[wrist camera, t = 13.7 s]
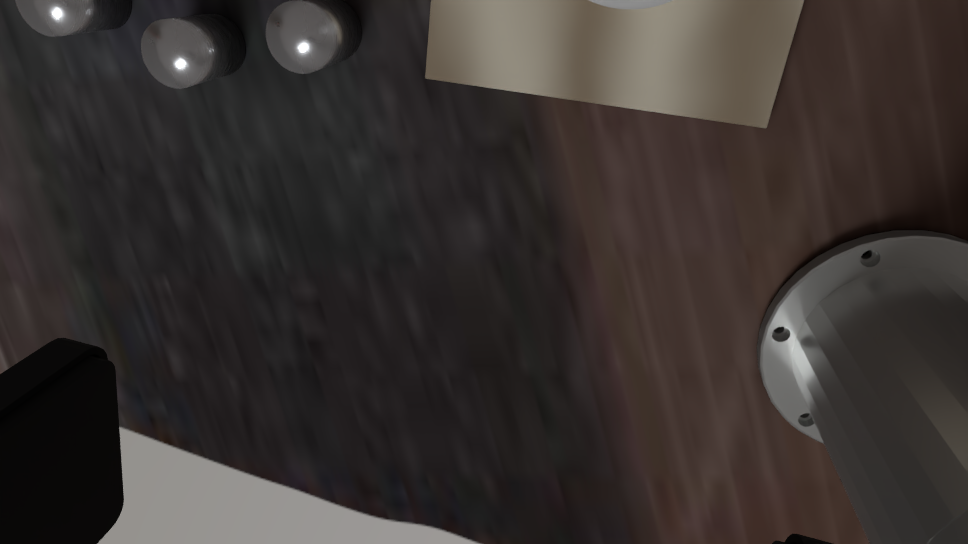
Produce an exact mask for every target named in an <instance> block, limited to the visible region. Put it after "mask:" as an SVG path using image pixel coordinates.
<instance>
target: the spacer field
mask: <svg viewBox="0 0 968 544" xmlns="http://www.w3.org/2000/svg"><path fill="white" fill-rule="evenodd" d="M15 1H16V5H17V7H18V10H19V12H20V14H21V15H22V17H23V18H24V20H25V21H26V22H27V23H28V24H29V25H30V26H31V27H32V28H33V29H34V30H36V31H37V32H39V33H41V34H43V35H46V36H50V37H58V36H65V35H73V34H80V33H88V32H95V31H103V30H110V29H116V28H119V27H121V26H122V25H124V24H125V23H126V22H127V20H128V18H129V16H130V13H131V6H132V5H131V0H15ZM266 40H267V44H268V47H269V49H270V52H271V53H272V55H273V57H274V58H275V59H276V61H277V62H278V63H279V64H280V65H282V66H283V67H284V68H286V69H288V70H290V71H292V72H295V73H301V74H305V73H311V72H314V71H317V70H319V69H322V68H325V67H327V66H330V65H333V64H335V63H338V62H341V61H343V60H346V59H348V58H349V57H351V56H352V55H353V54H354V53H355V52H356V50H357V49H358V47H359V44H360V41H361V25H360V21H359V19H358V16H357V14H356V13H355V11H354V10H353V9H352V8H351V6H349V5H348V4H347V3H346V2H344V1H343V0H296V1H289V2H285V3H283V4H281V5H279V6H278V7H277V8H275V9H274V11H273V12H272V13H271V15H270V16H269V19H268V21H267V25H266ZM245 50H246V49H245V42H244V39H243V36H242V34H241V32H240V30H239V29H238V27H237V26H236V25H235V24H234V23H233V22H232V21H231V20H230V19H228V18H227V17H225V16H223V15H220V14H214V13H210V14H202V15H194V16H186V17H178V18H170V19H162V20H158V21H155V22H153V23H152V24H150V25H149V26H148V27H147V29H146V30H145V32H144V34H143V37H142V41H141V52H142V57H143V60H144V62H145V65H146V67H147V68H148V70H149V71H150V73H151V74H152V75H153V76H154V77H155V78H156V79H157V80H158V81H159V82H161V83H162V84H164V85H166V86H169V87H172V88H186V87H189V86H193V85H196V84H200V83H203V82H206V81H210V80H213V79H216V78H220V77H223V76H227V75H230V74H232V73H234V72H236V71H237V70H238V69H239V68H240V67H241V65H242V64H243V61H244V58H245Z"/></svg>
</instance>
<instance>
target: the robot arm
mask: <svg viewBox="0 0 968 544" xmlns="http://www.w3.org/2000/svg"><path fill="white" fill-rule="evenodd" d="M868 250H869V252H868V254H866V255H865V256H862V255H863V253H865V252H866V251H868ZM778 327H781V328H780V329H776V328H778ZM757 358H758V368H759V371H760V374H761V378H762V381H763V384H764V386H765V389H766V391H767V393H768V395H769V397H770V399H771V402H772V403H773V404H774V406H775V407H776V408H777V410H778V411H779V412H780V414H781V415H782V416H783V417H784V418H785V419H786V420H787V421H788V422H789V423H790V424H791V425H792V426H794V427H795V428H796V429H797V430H799V431H800V432H802V433H804V434H806V435H807V436H809V437H811V438H813V439H814V440H816V441H818V442H821V443H824V445H825V447H826V449H827V451H828V453H829V455H830V458H831V460H832V462H833V464H834V466H835V469H836V471H837V473H838V475H839V477H840V480H841V482H842V484H843V486H844V488H845V490H846V493H847V495H848V497H849V499H850V501H851V504H852V506H853V508H854V510H855V512H856V514H857V517H858V519H859V521H860V523H861V525H862V528H863V530H864V532H865V534H866V536H867V539H868V541H869V543H870V544H968V241H966V240H963V239H961V238H958V237H955V236H952V235H949V234H944V233H937V232H931V231H925V230H894V231H888V232H883V233H877V234H871V235H866V236H863V237H860V238H857V239H854V240H851V241H848V242H845V243H843V244H840V245H838V246H836V247H834V248H832V249H830V250H829V251H827V252H825V253H823V254H821V255H819V256H817V257H816V258H814V259H813V260H812V261H810V262H809V263H808V264H806V265H805V266H804V267H802V268H801V269H800V270H798V271H797V272H796V273H795V274H794V275H793V276H792V277H791V278H790V279H789V280H788V281H787V282H786V284H785V285H784V286H783V287H782V288H781V289H780V290H779V292H778V293H777V295H776V296H775V298H774V299H773V301H772V302H771V304H770V306H769V307H768V309H767V311H766V314H765V316H764V319H763V322H762V324H761V327H760V331H759V337H758V343H757ZM123 502H124V496H123V481H122V466H121V450H120V434H119V418H118V403H117V387H116V371H115V366H114V364H113V363H112V362H111V361H108V358H107V354H106V352H105V351H104V350H103V349H102V348H100V347H97V346H93V345H89V344H85V343H82V342H78V341H74V340H70V339H67V338H57V339H55V340H53V341H51V342H49V343H48V344H46V345H45V346H43V347H42V348H40V349H38V350H37V351H35V352H34V353H32V354H31V355H29V356H28V357H26V358H25V359H23V360H21V361H20V362H18V363H17V364H15V365H14V366H12V367H11V368H9V369H8V370H6V371H5V372H3V373H1V374H0V544H97V543H98V542H99V540H100V539H102V538H103V537H104V535H105V534H106V533H107V532H108V531H109V530H110V529H111V528H112V526H113V525H114V524H115V523H116V521H117V519H118V517H119V516H120V513H121V511H122V507H123ZM772 544H832V543H829V542H825V541H821V540H817V539H814V538H810V537H806V536H803V535H799V534H791V535H790V536H789V537H788V538H787V539H786V541H785V542H781V541H774V542H773V543H772Z"/></svg>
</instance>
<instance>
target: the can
mask: <svg viewBox="0 0 968 544" xmlns="http://www.w3.org/2000/svg"><path fill="white" fill-rule="evenodd" d="M589 1H591V2H593V3H596V4H599V5H602V6H606V7H610V8H616V9H644V8H650V7H655V6H659V5H662V4H665V3H668V2H671V1H673V0H589Z"/></svg>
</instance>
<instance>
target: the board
mask: <svg viewBox="0 0 968 544" xmlns="http://www.w3.org/2000/svg"><path fill="white" fill-rule="evenodd" d="M803 2H804V0H673V1H671V2H668V3H665V4H662V5H659V6H655V7H650V8H644V9H616V8H610V7H606V6H602V5H599V4H596V3H593V2H591V1H589V0H431V9H430V23H429V36H428V49H427V63H426V76H425V78H426V79H433V80H440V81H446V82H453V83H460V84H467V85H474V86H481V87H487V88H494V89H501V90H508V91H515V92H522V93H528V94H535V95H542V96H549V97H556V98H563V99H569V100H576V101H583V102H590V103H597V104H604V105H610V106H617V107H624V108H631V109H638V110H645V111H651V112H658V113H665V114H672V115H679V116H686V117H692V118H699V119H706V120H713V121H720V122H727V123H734V124H740V125H747V126H754V127H761V128H767V124H768V121H769V118H770V114H771V111H772V107H773V104H774V101H775V97H776V94H777V90H778V87H779V84H780V80H781V77H782V73H783V70H784V67H785V63H786V60H787V56H788V53H789V50H790V46H791V43H792V39H793V36H794V33H795V29H796V26H797V22H798V19H799V16H800V12H801V9H802V5H803Z"/></svg>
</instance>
